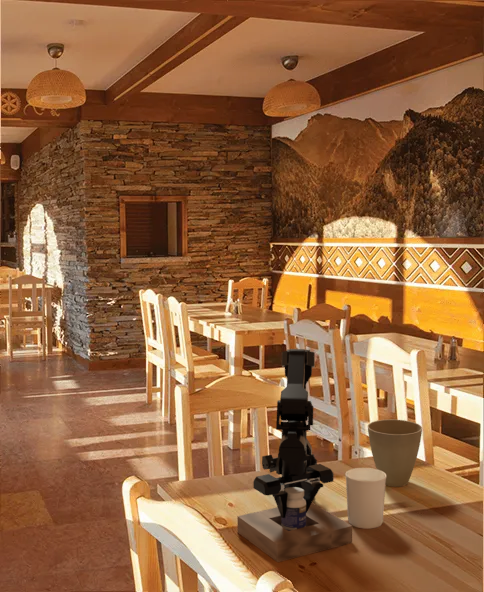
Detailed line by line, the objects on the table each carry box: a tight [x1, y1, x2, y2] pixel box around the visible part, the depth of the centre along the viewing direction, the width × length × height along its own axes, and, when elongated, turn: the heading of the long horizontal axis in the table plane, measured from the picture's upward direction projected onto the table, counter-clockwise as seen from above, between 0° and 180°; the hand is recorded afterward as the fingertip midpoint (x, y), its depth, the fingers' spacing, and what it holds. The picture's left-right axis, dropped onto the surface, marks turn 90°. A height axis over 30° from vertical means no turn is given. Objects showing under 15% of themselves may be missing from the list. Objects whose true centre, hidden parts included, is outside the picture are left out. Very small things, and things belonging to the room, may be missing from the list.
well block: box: [236, 502, 353, 563], centre depth 182 cm, size 20×18×4 cm
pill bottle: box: [281, 487, 306, 531], centre depth 181 cm, size 6×6×10 cm
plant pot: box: [367, 419, 423, 488], centre depth 217 cm, size 15×15×16 cm
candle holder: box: [345, 467, 387, 530], centre depth 190 cm, size 10×10×12 cm
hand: (293, 514), depth 181 cm, fingers closed on pill bottle, 6 cm apart
